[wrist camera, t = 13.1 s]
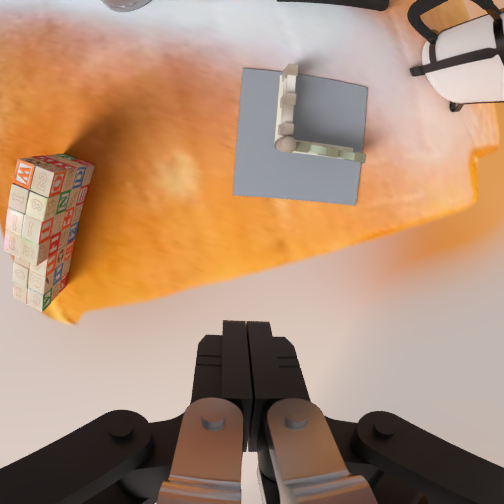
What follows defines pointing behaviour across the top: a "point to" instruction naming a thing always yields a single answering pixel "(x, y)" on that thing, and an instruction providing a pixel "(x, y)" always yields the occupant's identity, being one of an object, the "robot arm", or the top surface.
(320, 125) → the card
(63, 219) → the stack of blocks
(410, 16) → the coffee press
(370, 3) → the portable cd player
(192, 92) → the top surface
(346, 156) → the hinged panel
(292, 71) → the fence base
